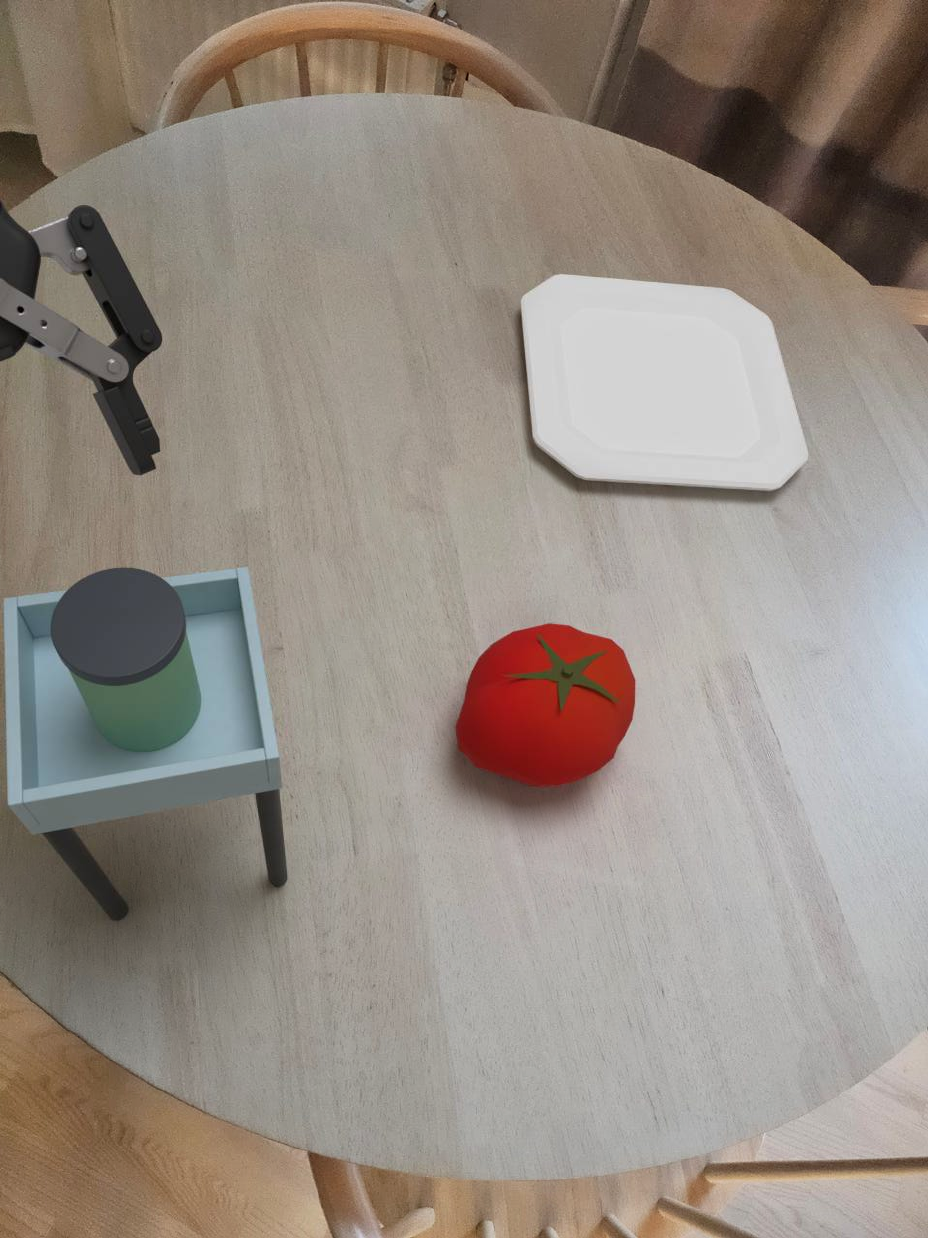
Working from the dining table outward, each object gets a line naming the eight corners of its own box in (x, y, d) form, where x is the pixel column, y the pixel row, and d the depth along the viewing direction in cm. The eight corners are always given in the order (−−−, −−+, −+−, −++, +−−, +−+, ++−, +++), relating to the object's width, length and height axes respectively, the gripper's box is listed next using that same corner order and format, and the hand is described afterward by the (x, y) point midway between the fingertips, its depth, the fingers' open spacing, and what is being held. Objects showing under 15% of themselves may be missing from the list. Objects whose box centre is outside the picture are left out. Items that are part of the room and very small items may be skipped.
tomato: (418, 704, 68) (433, 635, 60) (565, 641, 73) (600, 568, 64) (492, 841, 64) (521, 788, 55) (644, 766, 68) (693, 706, 59)
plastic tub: (93, 763, 44) (52, 687, 37) (87, 664, 46) (47, 575, 39) (209, 744, 45) (190, 666, 38) (197, 648, 47) (177, 559, 40)
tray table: (107, 925, 58) (6, 805, 39) (96, 770, 63) (2, 597, 44) (290, 886, 61) (279, 757, 42) (267, 740, 65) (248, 565, 46)
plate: (532, 489, 80) (537, 472, 78) (514, 286, 92) (518, 267, 90) (809, 505, 83) (821, 489, 81) (756, 306, 95) (765, 289, 93)
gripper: (-441, 114, 27) (-130, 604, 33) (37, 11, 33) (230, 446, 39) (-380, 174, 34) (-127, 577, 40) (12, 78, 39) (182, 445, 45)
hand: (50, 512), depth 39 cm, fingers open, 8 cm apart
